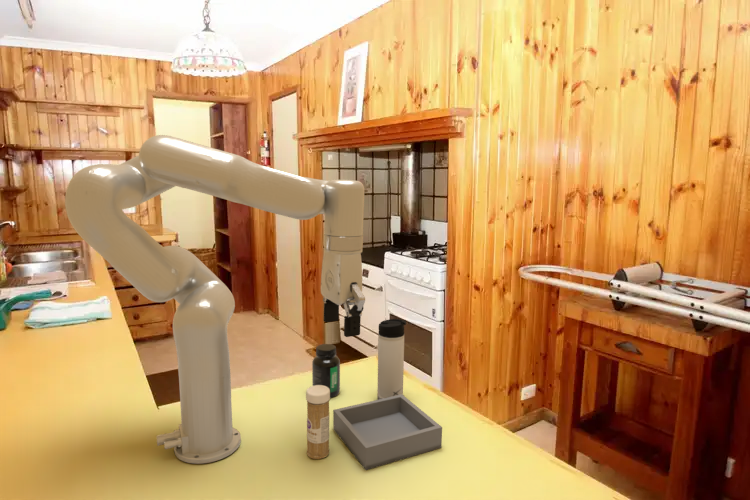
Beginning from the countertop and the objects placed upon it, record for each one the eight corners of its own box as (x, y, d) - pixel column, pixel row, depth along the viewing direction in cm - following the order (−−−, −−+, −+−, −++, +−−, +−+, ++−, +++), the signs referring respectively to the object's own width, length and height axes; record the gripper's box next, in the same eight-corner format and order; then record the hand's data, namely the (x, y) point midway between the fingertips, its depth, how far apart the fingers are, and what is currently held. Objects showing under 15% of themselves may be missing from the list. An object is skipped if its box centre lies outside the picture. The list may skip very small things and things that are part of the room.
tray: (365, 470, 89) (366, 448, 89) (333, 429, 103) (333, 409, 103) (441, 447, 97) (442, 427, 96) (401, 412, 111) (402, 394, 110)
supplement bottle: (341, 398, 118) (341, 351, 116) (313, 399, 117) (312, 352, 115) (338, 385, 124) (338, 341, 123) (312, 387, 123) (311, 342, 121)
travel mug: (402, 406, 114) (404, 325, 111) (375, 403, 115) (376, 323, 112) (405, 394, 120) (407, 317, 117) (380, 392, 121) (381, 315, 118)
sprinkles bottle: (301, 454, 94) (301, 389, 92) (318, 444, 98) (318, 382, 96) (317, 463, 91) (317, 396, 89) (334, 452, 95) (334, 388, 93)
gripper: (308, 238, 99) (307, 318, 102) (345, 251, 84) (342, 344, 87) (341, 237, 103) (339, 314, 105) (382, 249, 88) (378, 339, 91)
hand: (341, 328), depth 96 cm, fingers open, 9 cm apart
